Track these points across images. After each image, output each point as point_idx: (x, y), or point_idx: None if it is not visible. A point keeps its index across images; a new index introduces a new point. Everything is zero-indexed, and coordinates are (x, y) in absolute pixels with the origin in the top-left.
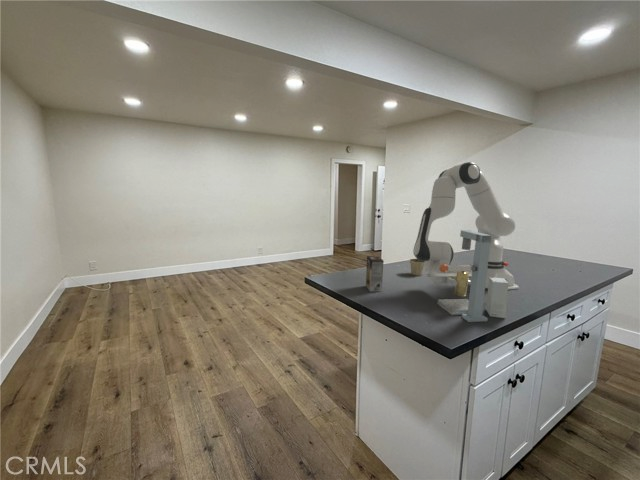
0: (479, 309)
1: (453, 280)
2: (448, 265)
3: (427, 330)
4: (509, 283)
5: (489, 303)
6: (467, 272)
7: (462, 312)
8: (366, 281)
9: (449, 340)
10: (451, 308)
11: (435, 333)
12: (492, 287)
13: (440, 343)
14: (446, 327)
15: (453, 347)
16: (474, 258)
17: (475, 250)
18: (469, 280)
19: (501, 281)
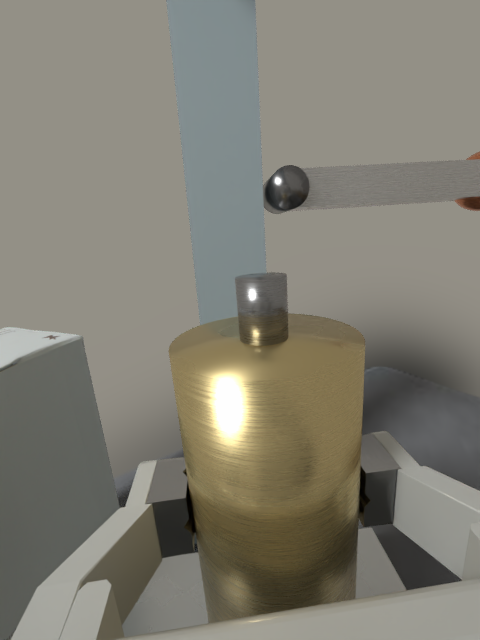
0: None
1: (403, 453)
2: (461, 161)
3: (463, 412)
4: None
5: (89, 519)
6: (196, 336)
7: None
8: None
9: (384, 382)
10: (378, 563)
11: (430, 401)
12: (89, 376)
13: (407, 373)
14: (397, 431)
15: (374, 367)
16: (257, 108)
17: (253, 23)
18: (157, 465)
19: (10, 336)
